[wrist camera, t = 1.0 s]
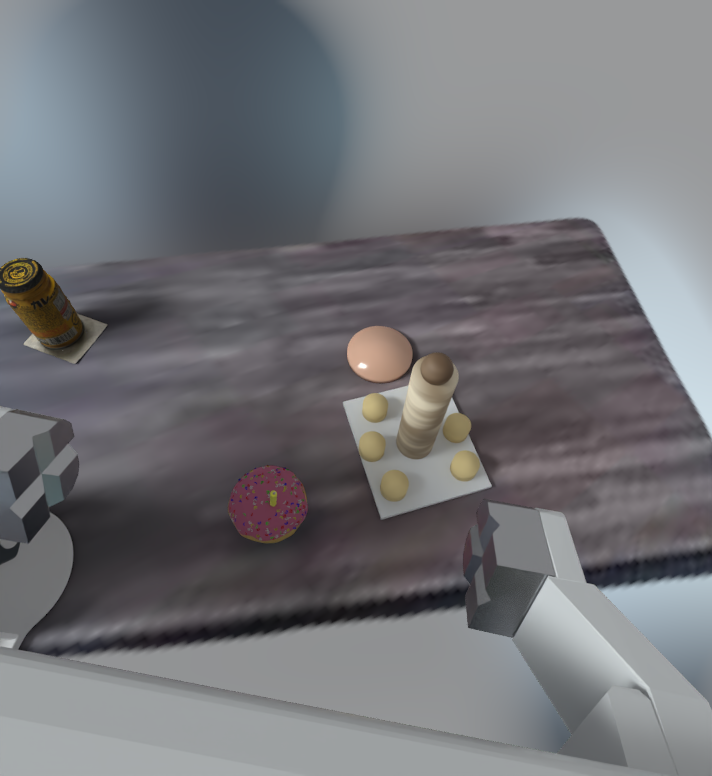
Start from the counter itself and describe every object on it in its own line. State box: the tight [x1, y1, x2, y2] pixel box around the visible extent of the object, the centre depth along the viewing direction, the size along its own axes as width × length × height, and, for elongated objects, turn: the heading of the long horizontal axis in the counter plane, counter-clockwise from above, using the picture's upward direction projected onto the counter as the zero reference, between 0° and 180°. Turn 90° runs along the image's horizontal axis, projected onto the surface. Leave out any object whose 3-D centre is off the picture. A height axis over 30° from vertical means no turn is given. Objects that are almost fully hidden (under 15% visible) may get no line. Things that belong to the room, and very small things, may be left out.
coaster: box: [347, 326, 413, 383], centre depth 72 cm, size 9×9×1 cm
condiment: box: [0, 258, 107, 364], centre depth 68 cm, size 7×8×12 cm
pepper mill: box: [396, 353, 459, 459], centre depth 58 cm, size 5×5×19 cm
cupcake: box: [228, 465, 308, 543], centre depth 56 cm, size 9×8×12 cm
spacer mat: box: [343, 386, 492, 520], centre depth 65 cm, size 14×16×3 cm
